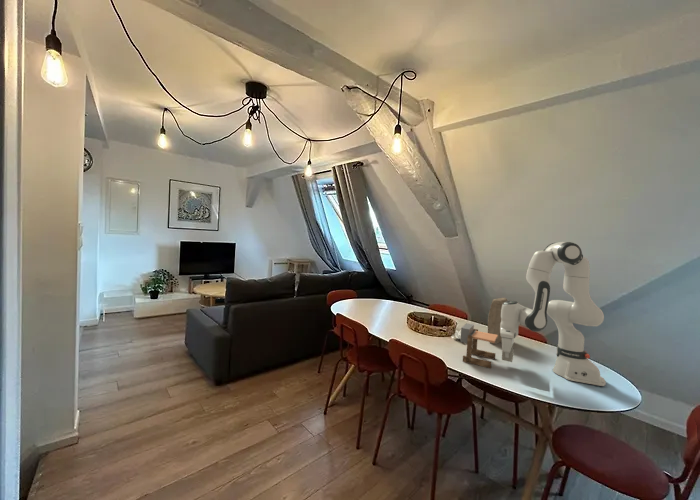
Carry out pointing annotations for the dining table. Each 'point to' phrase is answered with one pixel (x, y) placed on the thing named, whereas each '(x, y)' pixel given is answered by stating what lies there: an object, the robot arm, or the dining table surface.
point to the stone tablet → (495, 318)
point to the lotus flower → (458, 334)
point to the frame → (477, 353)
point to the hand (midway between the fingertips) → (507, 355)
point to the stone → (509, 356)
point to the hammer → (476, 334)
